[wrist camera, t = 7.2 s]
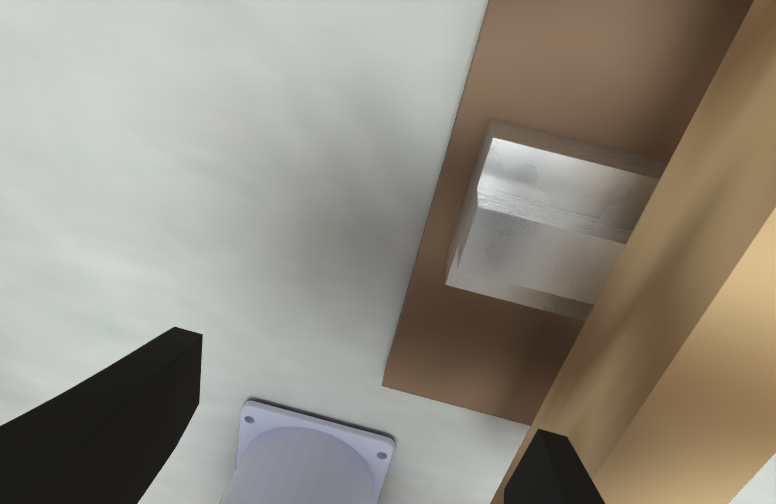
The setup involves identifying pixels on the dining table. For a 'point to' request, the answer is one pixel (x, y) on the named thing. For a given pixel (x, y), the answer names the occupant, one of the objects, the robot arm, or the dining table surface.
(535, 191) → the grey piece
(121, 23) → the dining table surface
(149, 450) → the robot arm
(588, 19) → the base board
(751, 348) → the oak beam
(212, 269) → the dining table surface
